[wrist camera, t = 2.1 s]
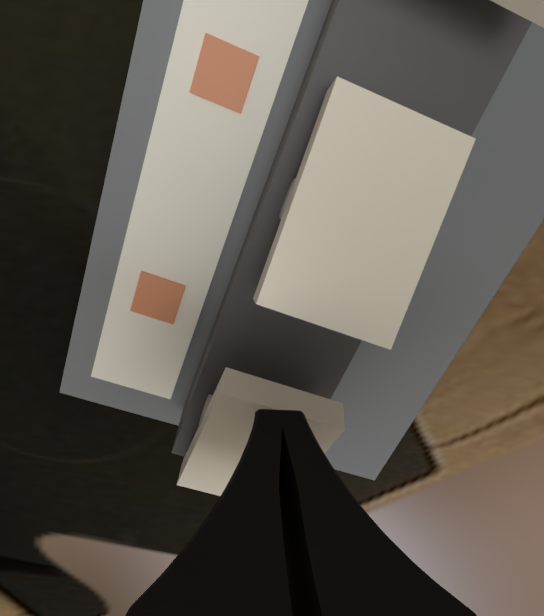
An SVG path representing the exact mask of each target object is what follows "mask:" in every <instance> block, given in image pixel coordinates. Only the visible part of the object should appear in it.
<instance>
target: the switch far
mask: <svg viewBox="0 0 544 616" xmlns="http://www.w3.org/2000/svg"><path fill="white" fill-rule="evenodd" d="M259 409H271V410H297V411H302V412H303V413H304V415H305V417H306V420H307V422H308V424H309V426H310V428H311V430H312V432H313V434H314V436H315V438H316V440H317V442H318V443H319V445H320V447H321V449H322V450H323V452H324V454H325V452H326V451H327V450H328V449H329V448H330V447H331V445H332V444H333V443H334V442H335V441H336V440H337V439H338V437H339V436H340V435H341V434H342V433H343V432H344V430H345V421H344V405H343V403H340V402H337V401H334V400H331V399H327V398H324V397H321V396H318V395H315V394H311V393H308V392H305V391H302V390H298V389H295V388H292V387H289V386H285V385H282V384H279V383H276V382H272V381H269V380H266V379H263V378H259V377H256V376H253V375H250V374H247V373H243V372H240V371H237V370H234V369H230V368H227V367H226V368H225V370H224V372H223V374H222V377H221V379H220V381H219V383H218V385H217V388H216V390H215V392H214V394H213V395H211V394H209V395H208V397H207V399H206V402H205V404H204V407H203V410H202V414H201V417H200V421H199V427H198V429H197V431H196V433H195V436H194V438H193V440H192V442H191V444H190V446H189V449H188V451H187V453H186V455H185V457H184V460H183V462H182V466H181V470H180V474H179V478H178V482H177V485H179V486H183V487H187V488H191V489H195V490H199V491H203V492H206V493H210V494H214V495H218V496H221V495H222V493H223V491H224V489H225V488H226V486H227V484H228V482H229V480H230V478H231V476H232V475H233V473H234V471H235V469H236V467H237V465H238V463H239V461H240V458H241V456H242V454H243V451H244V449H245V447H246V444H247V442H248V439H249V436H250V433H251V430H252V427H253V423H254V418H255V412H256V411H257V410H259Z"/></svg>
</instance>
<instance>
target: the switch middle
mask: <svg viewBox="0 0 544 616" xmlns="http://www.w3.org/2000/svg"><path fill="white" fill-rule="evenodd" d="M475 140H476V138H473V137H471V136H469V135H467V134H464V133H462V132H460V131H458V130H455V129H453V128H451V127H449V126H447V125H444V124H442V123H440V122H438V121H435V120H433V119H431V118H429V117H427V116H424V115H422V114H420V113H418V112H415V111H413V110H411V109H409V108H407V107H404V106H402V105H400V104H398V103H395V102H393V101H391V100H389V99H387V98H384V97H382V96H380V95H378V94H375V93H373V92H371V91H369V90H367V89H364V88H362V87H360V86H358V85H355V84H353V83H351V82H349V81H347V80H344V79H342V78H340V77H338V76H337V77H336V79H335V80H334V81H333V83H332V84H331V86H330V87H329V88H328V90H327V92H326V95H325V98H324V101H323V103H322V106H321V109H320V112H319V115H318V117H317V120H316V123H315V126H314V129H313V131H312V134H311V137H310V140H309V143H308V146H307V148H306V151H305V154H304V157H303V160H302V162H301V165H300V168H299V171H298V174H297V176H296V179H295V178H294V179H293V180H292V182H291V184H290V186H289V188H288V191H287V193H286V196H285V198H284V201H283V204H282V207H281V211H280V215H279V219H281V221H280V224H279V227H278V230H277V233H276V235H275V238H274V241H273V244H272V247H271V249H270V252H269V255H268V258H267V261H266V264H265V266H264V269H263V272H262V275H261V278H260V280H259V283H258V286H257V289H256V292H255V294H254V297H253V299H254V301H255V303H256V304H257V305H260V306H263V307H266V308H269V309H272V310H275V311H278V312H281V313H284V314H287V315H290V316H292V317H295V318H298V319H301V320H304V321H307V322H310V323H313V324H316V325H319V326H322V327H325V328H328V329H331V330H334V331H337V332H340V333H343V334H346V335H349V336H351V337H354V338H357V339H360V340H363V341H366V342H369V343H372V344H375V345H378V346H381V347H384V348H387V349H390V350H391V348H392V346H393V343H394V341H395V338H396V336H397V333H398V331H399V328H400V326H401V323H402V321H403V318H404V316H405V313H406V311H407V308H408V306H409V303H410V301H411V298H412V296H413V294H414V291H415V289H416V286H417V284H418V281H419V279H420V276H421V274H422V271H423V269H424V266H425V264H426V261H427V259H428V256H429V254H430V251H431V249H432V246H433V244H434V241H435V239H436V236H437V234H438V231H439V229H440V227H441V224H442V222H443V219H444V217H445V214H446V212H447V209H448V207H449V204H450V202H451V199H452V197H453V194H454V192H455V189H456V187H457V184H458V182H459V179H460V177H461V174H462V172H463V169H464V167H465V164H466V162H467V160H468V157H469V155H470V152H471V150H472V147H473V145H474V142H475Z"/></svg>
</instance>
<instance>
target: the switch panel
mask: <svg viewBox="0 0 544 616" xmlns="http://www.w3.org/2000/svg"><path fill="white" fill-rule="evenodd" d="M337 76H338V77H340V78H342V79H344V80H347V81H349V82H351V83H353V84H355V85H358V86H360V87H362V88H364V89H367V90H369V91H371V92H373V93H375V94H378V95H380V96H382V97H384V98H387V99H389V100H391V101H393V102H395V103H398V104H400V105H402V106H404V107H407V108H409V109H411V110H413V111H415V112H418V113H420V114H422V115H424V116H427V117H429V118H431V119H433V120H435V121H438V122H440V123H442V124H444V125H447V126H449V127H451V128H453V129H455V130H458V131H460V132H462V133H464V134H467V135H469V136H471V137H473V138H476V140H475V142H474V145H473V147H472V150H471V152H470V155H469V157H468V160H467V162H466V164H465V167H464V169H463V172H462V174H461V177H460V179H459V182H458V184H457V187H456V189H455V192H454V194H453V197H452V199H451V202H450V204H449V207H448V209H447V212H446V214H445V217H444V219H443V222H442V224H441V227H440V229H439V231H438V234H437V236H436V239H435V241H434V244H433V246H432V249H431V251H430V254H429V256H428V259H427V261H426V264H425V266H424V269H423V271H422V274H421V276H420V279H419V281H418V284H417V286H416V289H415V291H414V294H413V296H412V298H411V301H410V303H409V306H408V308H407V311H406V313H405V316H404V318H403V321H402V323H401V326H400V328H399V331H398V333H397V336H396V338H395V341H394V343H393V346H392V348H391V350H390V349H387V348H384V347H381V346H378V345H375V344H372V343H369V342H366V341H363V340H360V339H357V338H354V337H351V336H349V335H346V334H343V333H340V332H337V331H334V330H331V329H328V328H325V327H322V326H319V325H316V324H313V323H310V322H307V321H304V320H301V319H298V318H295V317H292V316H290V315H287V314H284V313H281V312H278V311H275V310H272V309H269V308H266V307H263V306H260V305H257V304H256V303H255V301H254V299H253V297H254V294H255V292H256V289H257V286H258V283H259V280H260V278H261V275H262V272H263V269H264V266H265V264H266V261H267V258H268V255H269V252H270V249H271V247H272V244H273V241H274V238H275V235H276V233H277V230H278V227H279V224H280V221H281V219H279V215H280V211H281V207H282V204H283V201H284V198H285V196H286V193H287V191H288V188H289V186H290V184H291V182H292V180H293V179H294V178H295V179H296V176H297V174H298V171H299V168H300V165H301V162H302V160H303V157H304V154H305V151H306V148H307V146H308V143H309V140H310V137H311V134H312V131H313V129H314V126H315V123H316V120H317V117H318V115H319V112H320V109H321V106H322V103H323V101H324V98H325V95H326V92H327V90H328V88H329V87H330V86H331V84H332V83H333V81H334V80H335V79H336V77H337ZM543 220H544V28H543V27H541V26H539V25H537V24H535V23H533V22H531V21H529V20H527V19H525V18H523V17H521V16H520V15H518V14H516V13H514V12H512V11H510V10H508V9H506V8H504V7H502V6H500V5H498V4H496V3H494V2H492V1H491V0H143V5H142V10H141V14H140V19H139V24H138V28H137V33H136V38H135V42H134V47H133V52H132V56H131V61H130V66H129V70H128V75H127V79H126V84H125V89H124V93H123V98H122V103H121V107H120V112H119V117H118V121H117V126H116V131H115V135H114V140H113V145H112V149H111V154H110V159H109V163H108V168H107V173H106V177H105V182H104V187H103V191H102V196H101V201H100V205H99V210H98V215H97V219H96V224H95V229H94V233H93V238H92V243H91V247H90V252H89V257H88V261H87V266H86V271H85V275H84V280H83V285H82V289H81V294H80V299H79V303H78V308H77V313H76V317H75V322H74V327H73V331H72V336H71V341H70V345H69V350H68V355H67V359H66V364H65V369H64V373H63V378H62V383H61V387H60V393H63V394H67V395H71V396H74V397H78V398H81V399H85V400H88V401H92V402H96V403H99V404H103V405H106V406H110V407H114V408H117V409H121V410H124V411H128V412H131V413H135V414H139V415H142V416H146V417H149V418H153V419H157V420H160V421H164V422H167V423H171V424H174V425H178V430H177V434H176V437H175V441H174V445H173V449H172V452H171V453H173V454H177V455H181V456H184V457H185V455H186V453H187V451H188V449H189V446H190V444H191V442H192V440H193V438H194V436H195V433H196V431H197V429H198V427H199V421H200V417H201V414H202V410H203V407H204V404H205V402H206V399H207V397H208V395H209V394H211V395H213V394H214V392H215V390H216V388H217V385H218V383H219V381H220V379H221V377H222V374H223V372H224V370H225V368H226V367H227V368H230V369H234V370H237V371H240V372H243V373H247V374H250V375H253V376H256V377H259V378H263V379H266V380H269V381H272V382H276V383H279V384H282V385H285V386H289V387H292V388H295V389H298V390H302V391H305V392H308V393H311V394H315V395H318V396H321V397H324V398H327V399H331V400H334V401H337V402H340V403H343V405H344V421H345V430H344V432H343V433H342V434H341V435H340V436H339V437H338V439H337V440H336V441H335V442H334V443H333V444H332V445H331V447H330V448H329V449H328V450H327V451H326V452H325V455H326V457H327V459H328V460H329V462H330V463H331V465H332V467H333V468H334V469H336V470H339V471H343V472H346V473H350V474H354V475H357V476H361V477H364V478H368V479H371V480H375V479H376V477H377V476H378V474H379V473H380V471H381V470H382V468H383V467H384V465H385V463H386V462H387V460H388V459H389V457H390V456H391V454H392V453H393V451H394V450H395V448H396V446H397V445H398V443H399V442H400V440H401V439H402V437H403V436H404V434H405V433H406V431H407V430H408V428H409V426H410V425H411V423H412V422H413V420H414V419H415V417H416V416H417V414H418V413H419V411H420V409H421V408H422V406H423V405H424V403H425V402H426V400H427V399H428V397H429V396H430V394H431V392H432V391H433V389H434V388H435V386H436V385H437V383H438V382H439V380H440V379H441V377H442V375H443V374H444V372H445V371H446V369H447V368H448V366H449V365H450V363H451V362H452V360H453V358H454V357H455V355H456V354H457V352H458V351H459V349H460V348H461V346H462V345H463V343H464V341H465V340H466V338H467V337H468V335H469V334H470V332H471V331H472V329H473V328H474V326H475V325H476V323H477V321H478V320H479V318H480V317H481V315H482V314H483V312H484V311H485V309H486V308H487V306H488V304H489V303H490V301H491V300H492V298H493V297H494V295H495V294H496V292H497V291H498V289H499V287H500V286H501V284H502V283H503V281H504V280H505V278H506V277H507V275H508V274H509V272H510V270H511V269H512V267H513V266H514V264H515V263H516V261H517V260H518V258H519V257H520V255H521V253H522V252H523V250H524V249H525V247H526V246H527V244H528V243H529V241H530V240H531V238H532V236H533V235H534V233H535V232H536V230H537V229H538V227H539V226H540V224H541V223H542V221H543Z"/></svg>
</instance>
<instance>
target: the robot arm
mask: <svg viewBox="0 0 544 616" xmlns="http://www.w3.org/2000/svg"><path fill="white" fill-rule="evenodd" d="M126 616H476V614H475V613H474V612H473V611H471V610H470V609H469V608H468V607H466V606H465V605H464V604H463V603H461V602H460V601H459V600H458V599H456V598H455V597H454V596H452V595H451V594H450V593H449V592H447V591H446V590H445V589H444V588H442V587H441V586H440V585H439V584H437V583H436V582H435V581H434V580H433V579H431V578H430V577H429V576H428V575H427V574H426V573H425V572H424V571H422V570H421V569H420V568H419V567H418V566H417V565H416V564H415V563H413V562H412V561H411V560H410V559H409V558H408V557H407V556H406V555H405V554H404V553H403V552H402V551H401V550H400V549H399V548H398V547H397V546H396V545H395V544H394V543H393V542H392V541H391V540H390V539H389V538H388V537H387V536H386V535H385V533H384V532H383V531H382V530H381V529H380V528H379V527H378V526H377V524H376V523H375V522H374V521H373V520H372V519H371V518H370V517H369V515H368V514H367V513H366V512H365V510H364V509H363V508H362V507H361V506H360V504H359V503H358V502H357V501H356V499H355V498H354V497H353V495H352V494H351V493H350V491H349V490H348V489H347V487H346V486H345V484H344V483H343V481H342V480H341V479H340V477H339V476H338V474H337V473H336V471H335V470H334V468H333V467H332V465H331V463H330V462H329V460H328V459H327V457H326V455H325V454H324V452H323V450H322V449H321V447H320V445H319V443H318V442H317V440H316V438H315V436H314V434H313V432H312V430H311V428H310V426H309V424H308V422H307V420H306V417H305V415H304V413H303V412H302V411H297V410H271V409H259V410H257V411H256V412H255V418H254V423H253V427H252V430H251V433H250V436H249V439H248V442H247V444H246V447H245V449H244V451H243V454H242V456H241V458H240V461H239V463H238V465H237V467H236V469H235V471H234V473H233V475H232V476H231V478H230V480H229V482H228V484H227V486H226V488H225V489H224V491H223V493H222V495H221V496H220V498H219V499H218V501H217V503H216V504H215V506H214V507H213V509H212V510H211V512H210V513H209V515H208V516H207V518H206V519H205V521H204V522H203V523H202V525H201V526H200V528H199V529H198V531H197V532H196V533H195V535H194V536H193V537H192V539H191V540H190V541H189V542H188V544H187V545H186V546H185V547H184V548H183V550H182V551H181V552H180V553H179V554H178V556H177V557H176V558H175V559H174V560H173V562H172V563H171V564H170V565H169V567H168V568H167V569H166V570H165V571H164V572H163V573H162V574H161V576H160V577H159V578H158V579H157V580H156V581H155V582H154V583H153V584H152V585H151V586H150V587H149V588H148V589H147V590H146V591H145V592H144V594H142V595H141V596H140V597H139V598H138V600H137V601H136V602H135V603H134V604H133V605H132V606H131V607H130V609H129V610H128V612H127V614H126Z"/></svg>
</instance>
